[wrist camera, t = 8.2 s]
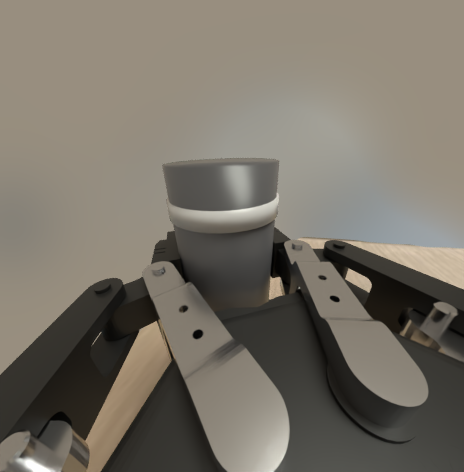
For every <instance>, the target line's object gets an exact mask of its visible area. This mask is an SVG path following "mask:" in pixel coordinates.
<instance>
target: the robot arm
mask: <svg viewBox="0 0 464 472" xmlns="http://www.w3.org/2000/svg"><path fill="white" fill-rule="evenodd" d="M348 268H349V269H351V270H353V271H355V272H357V273H359V274H361V275H363V276H365V277H367V278H368V279H369V280H370V281H371V283H372V288H371V290H370V293H368V292H366V291H365V290H363V289H361V288H359V287H357V286H356V285H354V284H352V283H350V282H349V281H347V280H345V278H346V275H347V271H348ZM142 276H143V277H141V278H140V279H138V280H135V281H133V282H130V283H127V284H125V285H123V282H122V280H120V279H118V278H110V279H105V280H102V281H99V282H97V283H95V284H94V285H92V286H90V287H89V288H88V289H87V290H86V291H85V292H84V293H83V294H82V295H81V296H80V297H78V298H77V299H76V301H75V302H74V303H72V304H71V305H70V307H68V308H67V309H66V310H65V311H64V312H63V313H62V314H61V315H60V316H59V317H58V318H57V319H56V320H55V322H53V323H52V324H51V325H50V326H49V327H48V328H47V329H46V330H45V331H44V332H43V333H42V334H41V335H40V336H39V337H38V338H37V339H36V340H35V341H34V342H33V343H32V344H31V345H30V346H29V347H28V348H27V349H26V350H25V351H24V352H23V353H22V354H21V355H20V356H19V357H18V358H17V359H16V360H15V361H14V362H13V363H12V364H11V365H10V366H9V367H8V368H7V369H6V370H5V371H4V372H3V373H2V374H1V375H0V472H86V470H87V467H88V463H89V448H88V445H87V443H86V442H85V440H86V438H87V436H88V434H89V432H90V430H91V428H92V426H93V424H94V422H95V420H96V418H97V416H98V414H99V412H100V410H101V408H102V406H103V404H104V402H105V400H106V398H107V396H108V394H109V392H110V390H111V388H112V386H113V384H114V382H115V380H116V378H117V376H118V374H119V372H120V369H121V367H122V365H123V363H124V361H125V359H126V357H127V355H128V353H129V351H130V349H131V347H132V345H133V343H134V341H135V339H136V337H137V335H138V333H139V329H141V328H143V327H145V326H147V325H149V324H151V323H153V322H155V321H157V323H158V326H159V329H160V332H161V335H162V337H163V340H164V343H165V346H166V348H167V351H168V354H169V357H170V360H171V363H170V364H169V366H168V367H167V369H166V370H165V372H164V374H163V375H162V377H161V378H160V380H159V381H158V383H157V384H156V386H155V388H154V389H153V391H152V392H151V394H150V395H149V397H148V399H147V400H146V402H145V403H144V405H143V406H142V408H141V410H140V411H139V413H138V414H137V416H136V417H135V419H134V421H133V422H132V424H131V425H130V427H129V428H128V430H127V431H126V433H125V435H124V436H123V438H122V439H121V441H120V442H119V444H118V446H117V447H116V449H115V450H114V452H113V453H112V455H111V457H110V458H109V460H108V461H107V463H106V464H105V466H104V467H103V469H102V471H101V472H464V290H463V289H461V288H458V287H456V286H453V285H451V284H448V283H446V282H443V281H441V280H438V279H436V278H433V277H431V276H428V275H426V274H423V273H421V272H418V271H416V270H413V269H411V268H408V267H406V266H403V265H401V264H398V263H396V262H393V261H391V260H388V259H386V258H383V257H381V256H378V255H376V254H373V253H371V252H368V251H366V250H363V249H361V248H358V247H356V246H353V245H351V244H348V243H346V242H342V241H337V240H330V241H327V242H325V245H324V249H312V248H311V246H310V245H309V244H308V243H306V242H304V241H300V240H290V239H289V238H288V237H287V236H285V235H284V234H283V233H282V232H280V231H279V230H278V229H276V228H275V227H274V236H273V249H272V262H271V277H272V278H275V277H281V279H280V286H281V290H282V294H283V296H279V297H276V298H274V299H272V300H270V301H268V302H267V303H265V304H263V305H261V306H259V307H245V308H229V309H224V310H220V311H216V312H213V311H212V309H211V308H210V306H209V305H208V304H207V302H206V301H205V300H204V298H203V297H202V296H201V294H200V293H199V292H198V290H197V289H196V288H195V286H194V285H193V284H192V283H191V282H188V283H185V280H184V275H183V269H182V264H181V259H180V254H179V252H178V246H177V241H176V236H175V231H172V232H168V233H167V240H160V241H159V242H158V243H157V244H156V245H155V249H154V254H153V258H152V263H151V265H149V266H148V267H146V268H145V269H144V271H143V272H142ZM100 332H102V333H101V334H100V336H99V337H98V338H97V340H96V341H95V343H94V344H93V342H94V340H95V339H96V337H97V336H98V335H99V333H100ZM92 344H93V346H92Z"/></svg>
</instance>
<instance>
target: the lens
mask: <svg viewBox="0 0 464 472" xmlns="http://www.w3.org/2000/svg"><path fill="white" fill-rule="evenodd" d="M162 166H163V172H164V177H165V182H166V188H167V193H168V198H167V207H168V212H169V217H170V221H171V222H172V223H173V225H174V230H175V236H176V241H177V246H178V252H179V254H180V259H181V264H182V269H183V275H184V280H185V283H188V282H191V283H192V284H193V285H194V286H195V288H196V289H197V290H198V292H199V293H200V294H201V296H202V297H203V298H204V300H205V301H206V302H207V304H208V305H209V306H210V308H211V309H212V311H213V312H216V311H220V310H224V309H229V308H245V307H259V306H261V305H263V304H265V303H267V302H268V301H269V289H270V275H271V262H272V249H273V236H274V221H275V218H276V217H277V214H278V201H279V194H278V193H277V182H278V169H279V161H278V160H276V159H263V158H227V159H205V160H190V161H180V162H172V163H167V164H163V165H162Z"/></svg>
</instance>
